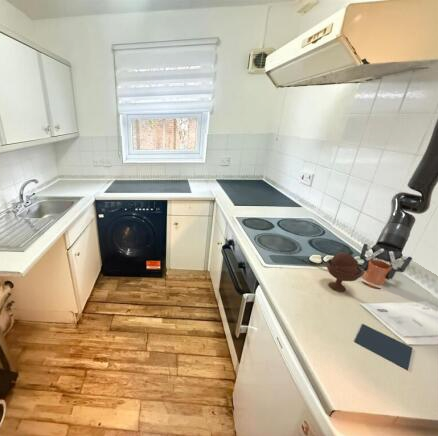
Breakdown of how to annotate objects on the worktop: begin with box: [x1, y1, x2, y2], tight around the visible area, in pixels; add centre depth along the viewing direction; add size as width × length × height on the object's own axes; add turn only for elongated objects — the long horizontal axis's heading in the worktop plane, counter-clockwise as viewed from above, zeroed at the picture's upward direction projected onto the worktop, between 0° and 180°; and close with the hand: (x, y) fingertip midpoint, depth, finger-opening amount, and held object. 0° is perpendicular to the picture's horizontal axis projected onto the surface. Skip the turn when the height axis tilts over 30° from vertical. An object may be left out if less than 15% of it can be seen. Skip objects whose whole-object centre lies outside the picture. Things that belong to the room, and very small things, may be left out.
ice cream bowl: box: [325, 252, 365, 293], centre depth 88 cm, size 11×11×15 cm
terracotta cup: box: [361, 259, 392, 290], centre depth 91 cm, size 6×6×9 cm
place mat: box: [353, 323, 413, 371], centre depth 68 cm, size 11×10×1 cm
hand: (375, 274), depth 90 cm, fingers closed on terracotta cup, 6 cm apart
